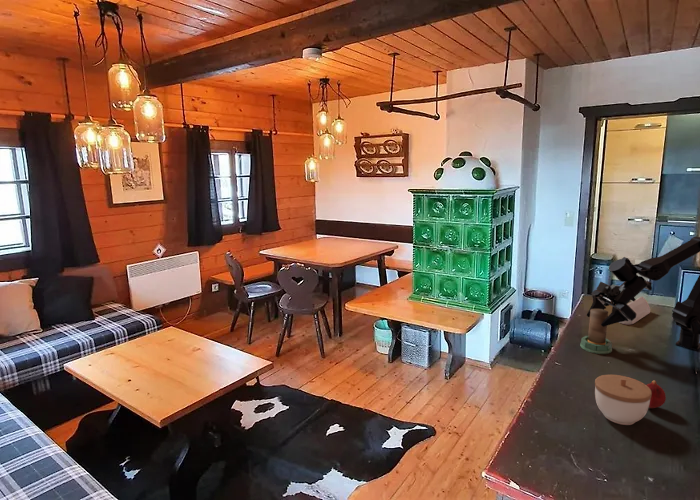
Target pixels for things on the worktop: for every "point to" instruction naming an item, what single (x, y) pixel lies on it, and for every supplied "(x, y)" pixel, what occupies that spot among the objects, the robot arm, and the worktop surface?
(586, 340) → the socket
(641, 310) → the pale pink faceted bar
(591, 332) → the sleeve
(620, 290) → the robot arm
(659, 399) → the onion
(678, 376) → the worktop surface
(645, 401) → the lidded bowl
